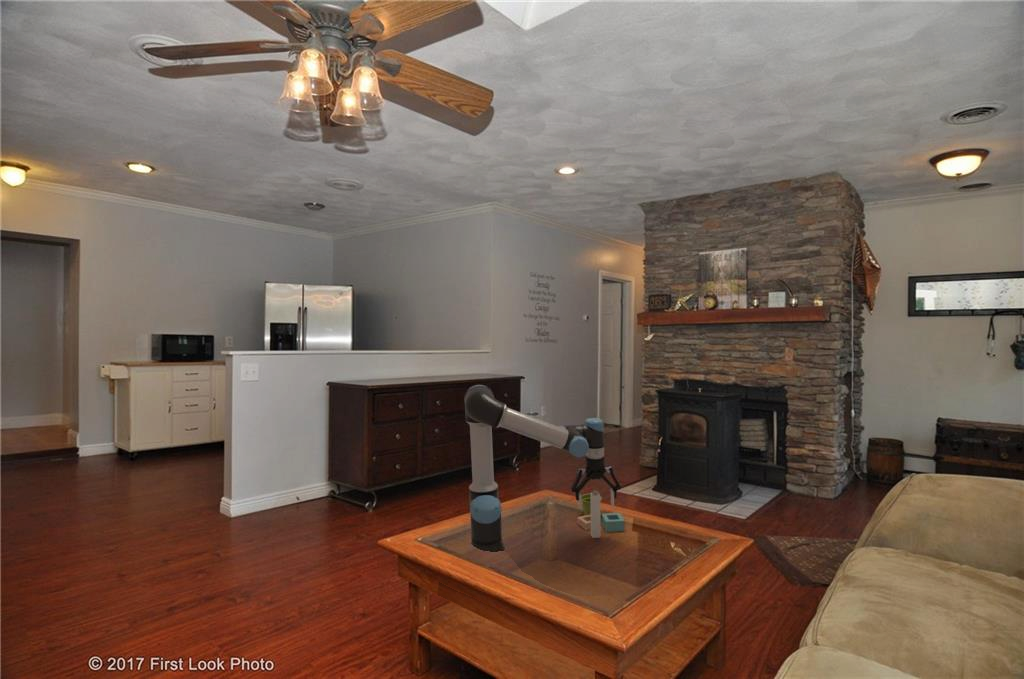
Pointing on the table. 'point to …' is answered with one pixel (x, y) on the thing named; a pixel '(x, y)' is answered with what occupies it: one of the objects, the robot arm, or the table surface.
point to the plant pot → (587, 503)
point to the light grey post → (595, 514)
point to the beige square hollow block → (584, 522)
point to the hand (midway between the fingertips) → (596, 506)
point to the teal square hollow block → (613, 522)
